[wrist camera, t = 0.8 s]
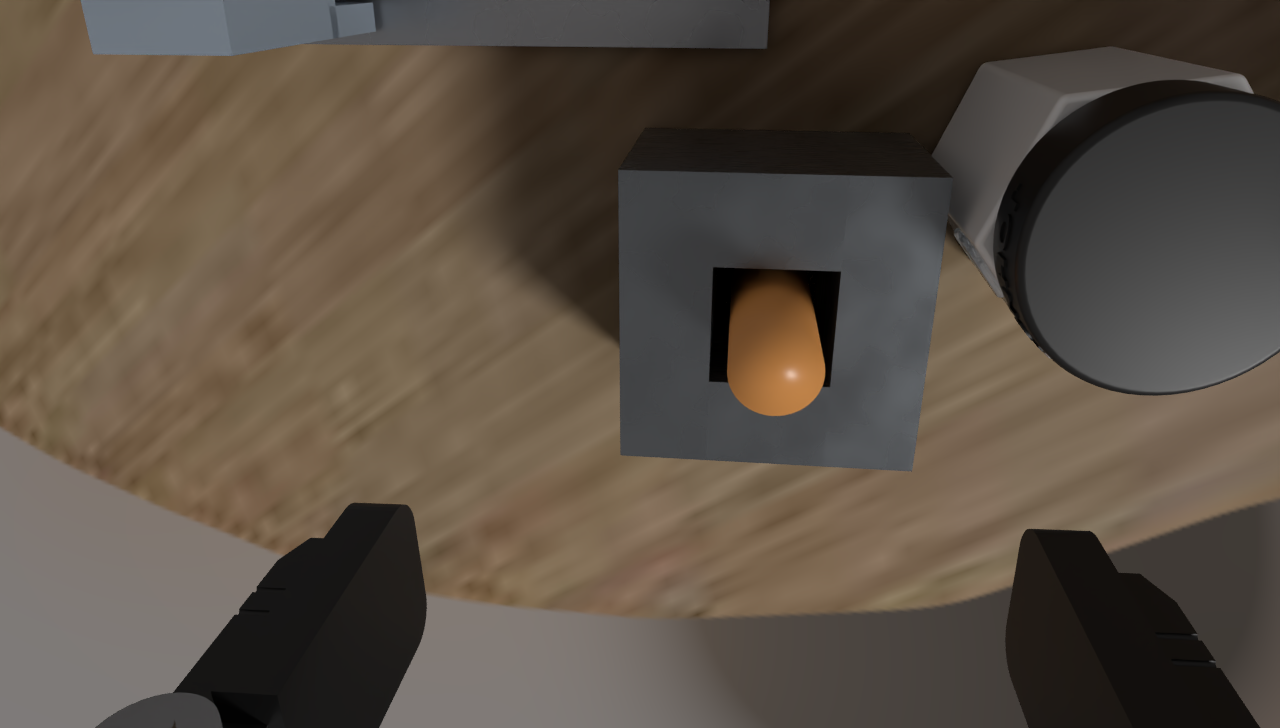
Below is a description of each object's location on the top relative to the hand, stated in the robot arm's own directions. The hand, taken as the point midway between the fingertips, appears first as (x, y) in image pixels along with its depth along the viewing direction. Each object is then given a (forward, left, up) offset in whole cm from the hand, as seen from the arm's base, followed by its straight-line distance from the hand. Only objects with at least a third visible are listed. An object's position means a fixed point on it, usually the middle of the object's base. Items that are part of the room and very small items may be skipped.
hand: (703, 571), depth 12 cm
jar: (-1, +12, -26) cm, 28 cm away
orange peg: (+3, +2, -23) cm, 23 cm away
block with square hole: (+3, +2, -26) cm, 26 cm away
